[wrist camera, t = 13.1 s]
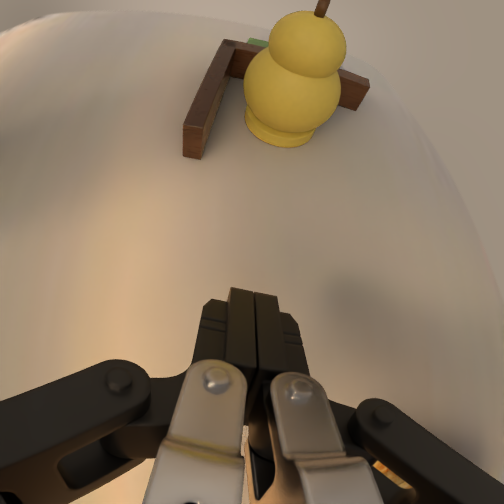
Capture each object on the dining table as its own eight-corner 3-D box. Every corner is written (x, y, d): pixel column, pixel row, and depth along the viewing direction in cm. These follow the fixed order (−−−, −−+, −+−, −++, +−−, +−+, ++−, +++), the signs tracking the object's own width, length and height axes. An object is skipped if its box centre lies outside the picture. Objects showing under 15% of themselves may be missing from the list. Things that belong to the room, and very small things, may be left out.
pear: (229, 143, 20) (260, -2, 11) (243, 87, 23) (272, -32, 13) (320, 164, 21) (392, 40, 11) (320, 105, 24) (371, -2, 14)
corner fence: (182, 156, 19) (182, 124, 17) (219, 66, 24) (223, 38, 21) (361, 200, 21) (382, 176, 18) (355, 103, 25) (368, 79, 22)
